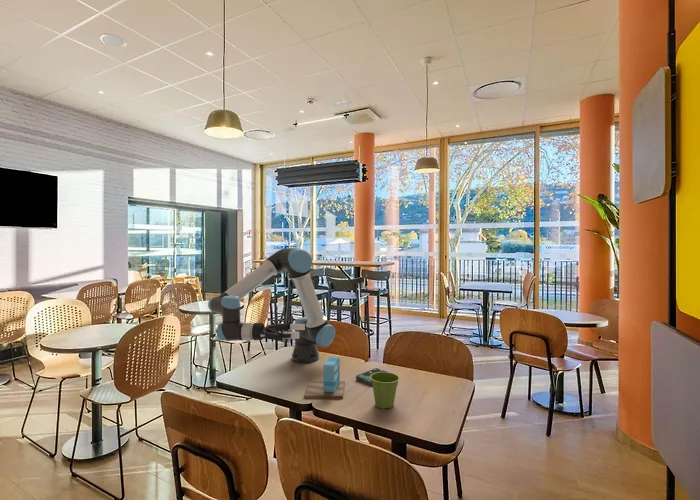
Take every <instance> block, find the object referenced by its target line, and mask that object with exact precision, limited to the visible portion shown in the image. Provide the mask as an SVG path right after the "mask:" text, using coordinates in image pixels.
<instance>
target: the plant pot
mask: <svg viewBox="0 0 700 500" xmlns="http://www.w3.org/2000/svg"><path fill="white" fill-rule="evenodd" d="M370 379H371V381H372V385H373V386H372V389H373V390H372V391H373V397H374V398H373V399H374V403H375V406H376V407H377V408H380V409H384V410H385V409H391V408H393V407H394V404H395V399H396V393H397V387H398V385H399V381H400V379H401V377H400V376H399V375H398V374H396V373H394V372H389V371H387V372H377V373H373V374H371V375H370Z"/></svg>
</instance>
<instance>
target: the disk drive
mask: <svg viewBox="0 0 700 500" xmlns="http://www.w3.org/2000/svg"><path fill="white" fill-rule="evenodd" d="M377 372H388V371H387V370H381V369H380V368H373V369H371V370H368V371H365V372H362V373H359V374H357V375H355V380H356V381H357V382H360V383H363V384H366V385H368V386H370V387H373V385H372V381H371V379H370V375H371V374H373V373H377Z"/></svg>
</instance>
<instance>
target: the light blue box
mask: <svg viewBox="0 0 700 500" xmlns="http://www.w3.org/2000/svg"><path fill="white" fill-rule="evenodd" d="M340 362H341V361H340V358H339V357H328V359H326V361H325V362H324V364H323V370H322V372H323V374H322V375H323V376H322V377H323V378H322V381H323V391H324V392H328V393H334V392H335V391H336V389H337V387H338V385H339V382H340V381H341V380H340V379H341V378H340V377H341V376H340V375H341V371H340V370H341V369H340V368H341V365H340Z"/></svg>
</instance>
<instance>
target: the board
mask: <svg viewBox="0 0 700 500" xmlns="http://www.w3.org/2000/svg"><path fill="white" fill-rule="evenodd" d="M307 385H308V386H307V388H306V390H305V392H304V399H325V400H326V399H329V400H332V399H333V400H335V399H337V400H344V394H345V393H344V392H345V386H346V381H345V380H340V382H339V385H338V387H337V389H336V391H335V392H334V393H328V392H324V391H323V380H309V382H308V384H307Z"/></svg>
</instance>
